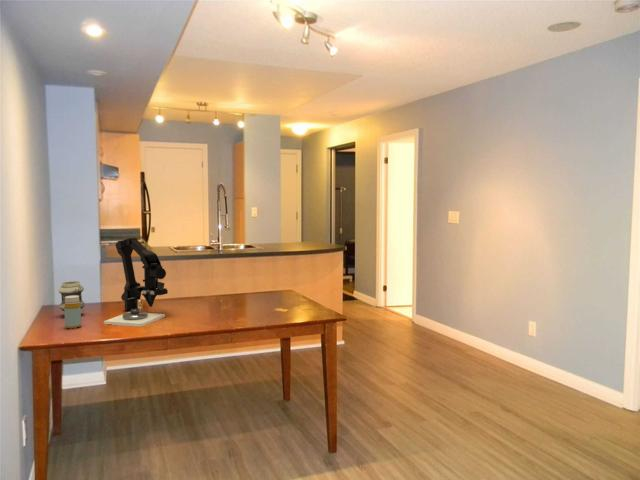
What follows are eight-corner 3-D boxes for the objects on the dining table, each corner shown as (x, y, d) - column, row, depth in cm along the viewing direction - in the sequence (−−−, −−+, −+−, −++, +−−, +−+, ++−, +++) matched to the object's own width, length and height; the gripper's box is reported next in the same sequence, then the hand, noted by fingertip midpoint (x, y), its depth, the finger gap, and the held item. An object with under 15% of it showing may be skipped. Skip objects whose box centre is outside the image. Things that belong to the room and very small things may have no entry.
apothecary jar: (60, 314, 266) (59, 281, 264) (85, 312, 270) (84, 279, 269) (58, 319, 255) (56, 284, 253) (84, 317, 259) (83, 283, 258)
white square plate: (103, 324, 245) (103, 321, 245) (129, 314, 265) (129, 311, 265) (141, 326, 240) (141, 323, 240) (164, 316, 261) (164, 314, 260)
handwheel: (144, 319, 247) (144, 306, 247) (119, 319, 246) (119, 306, 245) (152, 311, 266) (152, 298, 265) (129, 311, 264) (128, 299, 264)
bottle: (70, 329, 234) (69, 298, 233) (62, 327, 238) (60, 297, 237) (84, 326, 240) (83, 296, 239) (75, 324, 244) (74, 294, 243)
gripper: (174, 276, 264) (175, 305, 265) (148, 274, 272) (148, 302, 273) (159, 279, 254) (160, 309, 255) (132, 276, 262) (133, 306, 263)
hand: (150, 306), depth 262 cm, fingers closed
